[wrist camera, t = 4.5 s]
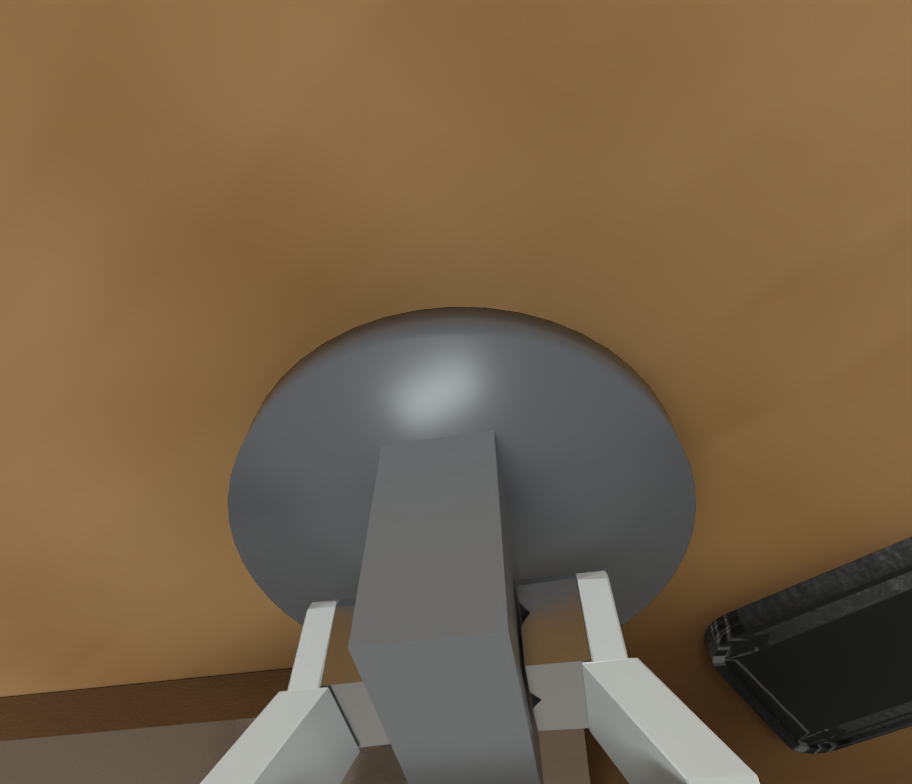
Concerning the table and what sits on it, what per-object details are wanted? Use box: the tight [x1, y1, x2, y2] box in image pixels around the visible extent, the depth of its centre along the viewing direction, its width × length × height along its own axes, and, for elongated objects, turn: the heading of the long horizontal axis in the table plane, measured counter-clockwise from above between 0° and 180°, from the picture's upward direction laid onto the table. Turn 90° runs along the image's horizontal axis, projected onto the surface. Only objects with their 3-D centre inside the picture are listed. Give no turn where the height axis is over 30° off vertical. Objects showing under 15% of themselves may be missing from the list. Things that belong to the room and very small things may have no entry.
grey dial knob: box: [228, 307, 696, 784], centre depth 12 cm, size 9×9×7 cm
